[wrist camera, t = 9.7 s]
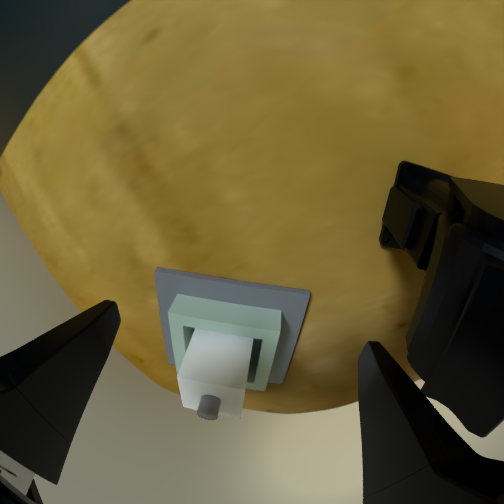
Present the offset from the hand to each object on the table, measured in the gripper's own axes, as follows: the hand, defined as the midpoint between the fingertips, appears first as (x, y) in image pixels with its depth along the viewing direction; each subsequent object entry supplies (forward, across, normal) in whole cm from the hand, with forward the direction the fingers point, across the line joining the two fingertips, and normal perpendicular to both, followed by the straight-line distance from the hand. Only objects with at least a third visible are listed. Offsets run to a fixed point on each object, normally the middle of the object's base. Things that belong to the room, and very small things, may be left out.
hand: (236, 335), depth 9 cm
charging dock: (+12, +2, +13) cm, 18 cm away
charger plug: (+11, +2, +13) cm, 17 cm away
